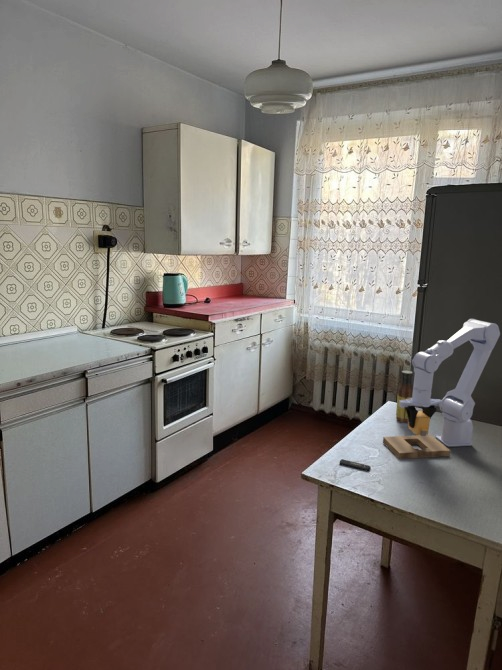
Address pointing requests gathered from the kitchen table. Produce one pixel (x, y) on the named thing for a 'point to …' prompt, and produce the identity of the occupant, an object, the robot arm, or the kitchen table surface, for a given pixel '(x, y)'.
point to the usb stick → (355, 465)
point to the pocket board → (405, 450)
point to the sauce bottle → (404, 395)
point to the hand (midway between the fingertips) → (417, 426)
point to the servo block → (421, 424)
